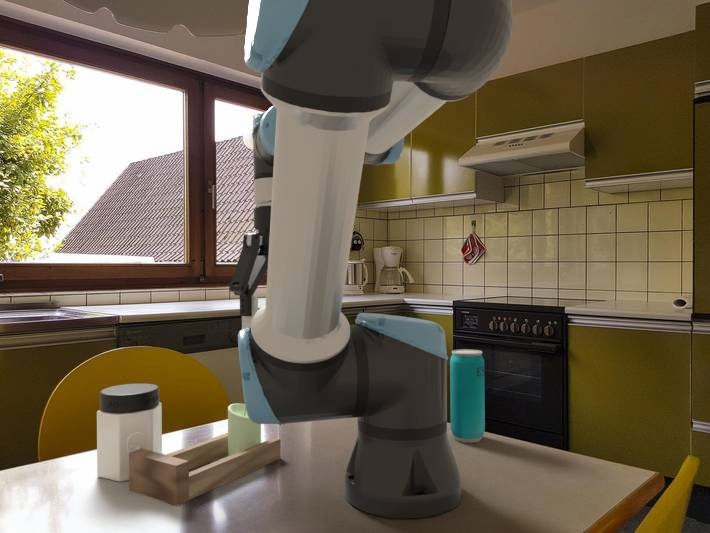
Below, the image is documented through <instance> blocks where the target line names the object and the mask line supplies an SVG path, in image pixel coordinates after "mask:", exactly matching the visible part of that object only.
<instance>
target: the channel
mask: <svg viewBox="0 0 710 533" xmlns="http://www.w3.org/2000/svg"><path fill="white" fill-rule="evenodd" d="M281 444H282V443H281V438H278V437H273V438H270V439H267V440H265V441H263V442H261V443H260V444H258V445H255V446H253V447H250V448H248V449H245V450H243V451H240V452H238V453H235V454H233V455H230V456H228V432H226V433H223V434H221V435H217V436H214V437H212V438H209V439H206V440H204V441H203V440H202V441H200V442H197V443H195V444H192V445H189V446H187V447H184V448H181V449H178V450H175V451H172V452H170V453H167V454H164V453H162V454H161V453H157V452H153V451H149V450H146V449H139V450H136V451H133V452H130V453H129V480H128V482H129V483H128V484H129V491H131V492H134V493H137V494H139V495H143V496H146V497H148V498H152V499H155V500H158V501H160V502H164V503H166V504H169V505H172V506H175V507H177V506H179V505H180V506H181V504H184V503H186V502H188V501H190V500H192V499H195V498H197V497H199V496H201V495H203V494H206V493H207V492H210V491H213V490H215V489H217V488H218V487H221V486H223V485H225V484H227V483H229V482H231V481H234V480H236V479H239V478H241V477H243V476H246V475H247V474H249V473H251V472H254V471H257V470H258V469H260V468H262V467H265V466H266V465H269V464H271V463H273V462H275V461H278V460H279V459H281V457H282V456H281V455H282V454H281V453H282V452H281V451H282V450H281V448H282V446H281ZM223 457H224V458H223ZM208 463H209V464H208ZM200 466H201V467H200ZM198 467H199V468H198ZM196 468H197V469H196Z"/></svg>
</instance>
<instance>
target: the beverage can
mask: <svg viewBox="0 0 710 533" xmlns="http://www.w3.org/2000/svg"><path fill="white" fill-rule="evenodd" d="M451 353H452V354H451V356H450V359H449V371H450V372H449V378H450V379H449V380H450V383H449V384H450V388H449V389H450V390H449V391H450V395H449V398H450V401H449V403H450V406H449V407H450V430H451V434H452V436H453V438H454V440H456V441H457V442H460V443H466V444H473V443H475V444H476V443H479V442H480V441H482V439H483V436H484V433H485V431H486V417H485V416H486V415H485V414H486V412H485V411H486V409H485V408H486V406H485V404H486V403H485V398H486V397H485V396H486V395H485V388H486V387H485V386H486V385H485V360H484V357H483V355H482V354H483V351H482V350H479V349H468V348H461V349H459V348H458V349H453V350H451Z"/></svg>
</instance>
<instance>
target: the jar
mask: <svg viewBox="0 0 710 533" xmlns="http://www.w3.org/2000/svg"><path fill="white" fill-rule="evenodd" d="M162 407H163V406H162V402H160V387H159V385H157V384H152V383H141V382H140V383H126V384H117V385H113V386H108V387H106V388H103V389H101V390H100V391H99V410H97V411H96V458H97V459H96V460H97V461H96V463H97V464H96V465H97V466H96V470H97V472H96V473H97V475H96V476H97V477H98V478H101V479H107V480H111V481H115V482H118V483H121V482H126V481H129V453H130V452H133V451H136V450H139V449H146V450H149V451H153V452H157V453H161V454H163V434H162V433H163V428H162V427H163V425H162V424H163V421H162V419H163V418H162V416H163V415H162V414H163V412H162V409H163V408H162Z"/></svg>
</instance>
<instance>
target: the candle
mask: <svg viewBox="0 0 710 533" xmlns="http://www.w3.org/2000/svg"><path fill="white" fill-rule="evenodd" d="M227 433H228V455H227V457H228V456H230V455H233V454H235V453H238V452H240V451H243V450H245V449H248V448H250V447H253V446H255V445H258V444H260V443H262V424H257V423H255V422H253V421H252V420H251V419H250V418H249V417H248V415H247V412H246V407H245V403H238V402H237V403H232V404H229V405H228V406H227Z"/></svg>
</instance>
